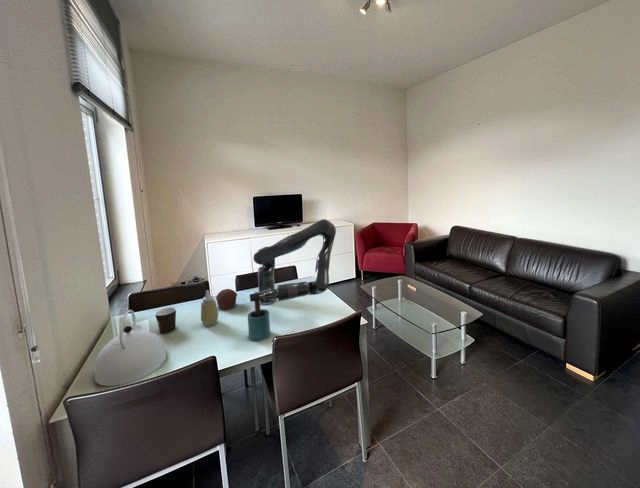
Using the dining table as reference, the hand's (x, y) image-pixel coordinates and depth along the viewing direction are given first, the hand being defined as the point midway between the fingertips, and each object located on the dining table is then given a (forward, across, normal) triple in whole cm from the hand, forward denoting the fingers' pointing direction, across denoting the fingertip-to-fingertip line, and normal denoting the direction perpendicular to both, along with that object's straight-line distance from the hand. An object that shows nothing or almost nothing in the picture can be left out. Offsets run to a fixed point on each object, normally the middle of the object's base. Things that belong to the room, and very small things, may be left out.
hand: (250, 298), depth 139 cm
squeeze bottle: (+19, -23, +20) cm, 36 cm away
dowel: (-3, 0, +16) cm, 16 cm away
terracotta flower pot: (+11, -41, +20) cm, 47 cm away
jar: (-3, 0, +19) cm, 20 cm away
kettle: (+46, 0, +20) cm, 50 cm away
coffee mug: (+38, -24, +20) cm, 49 cm away
